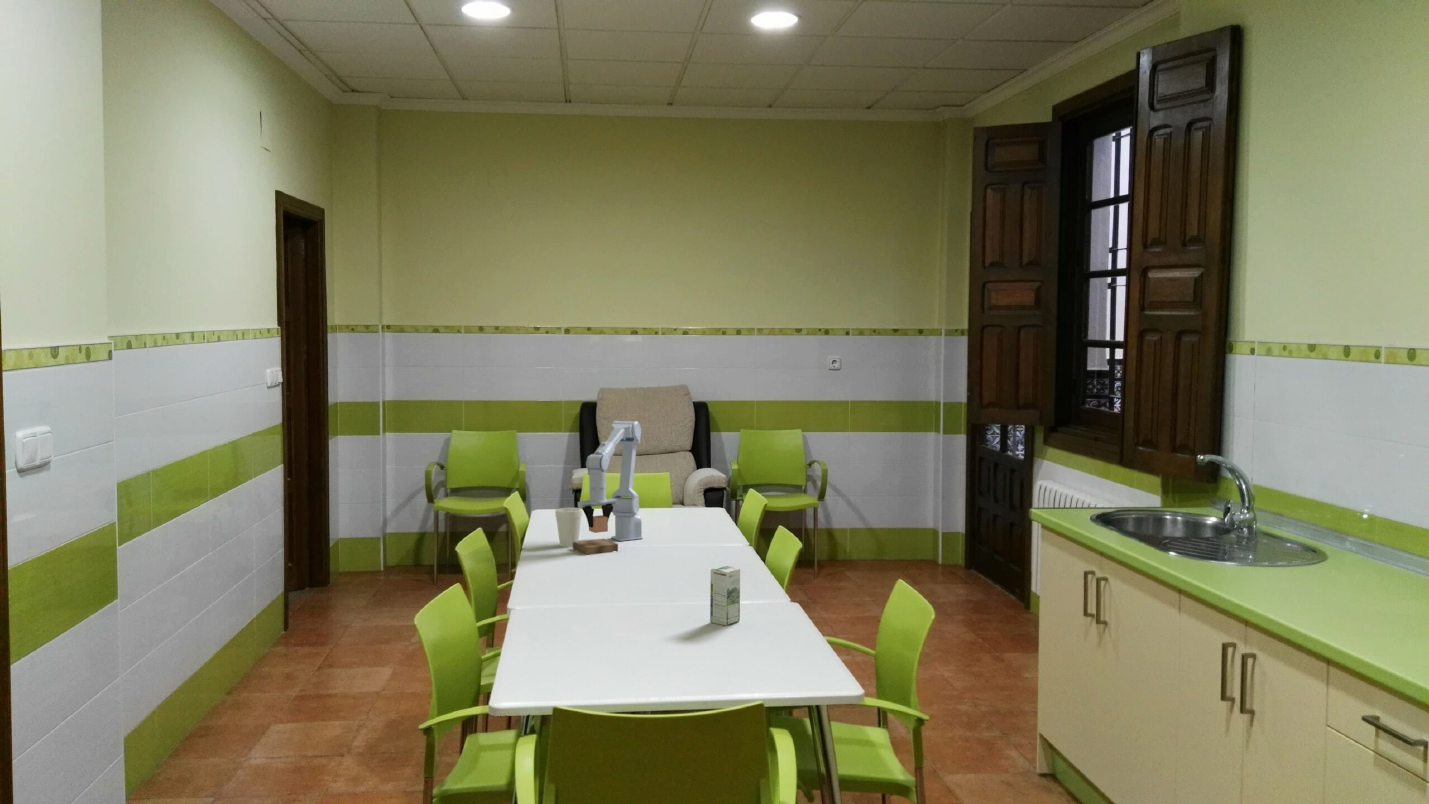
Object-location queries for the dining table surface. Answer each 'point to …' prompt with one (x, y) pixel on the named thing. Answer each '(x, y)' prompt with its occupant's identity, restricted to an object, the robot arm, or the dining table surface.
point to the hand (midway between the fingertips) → (597, 526)
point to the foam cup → (568, 525)
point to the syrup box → (725, 595)
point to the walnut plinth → (595, 546)
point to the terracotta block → (599, 524)
